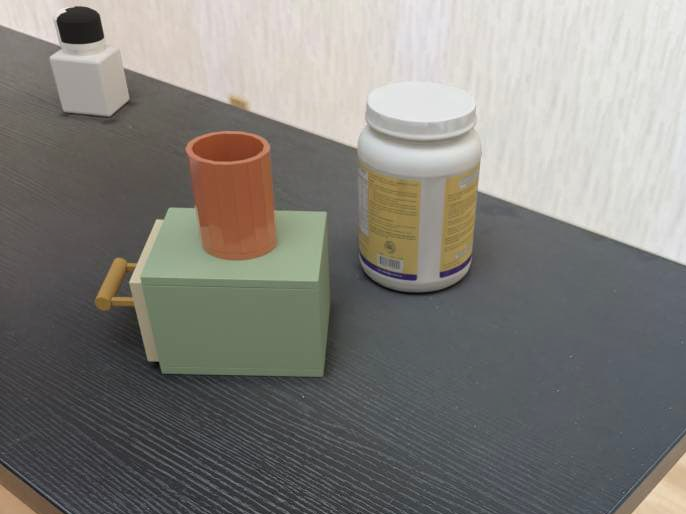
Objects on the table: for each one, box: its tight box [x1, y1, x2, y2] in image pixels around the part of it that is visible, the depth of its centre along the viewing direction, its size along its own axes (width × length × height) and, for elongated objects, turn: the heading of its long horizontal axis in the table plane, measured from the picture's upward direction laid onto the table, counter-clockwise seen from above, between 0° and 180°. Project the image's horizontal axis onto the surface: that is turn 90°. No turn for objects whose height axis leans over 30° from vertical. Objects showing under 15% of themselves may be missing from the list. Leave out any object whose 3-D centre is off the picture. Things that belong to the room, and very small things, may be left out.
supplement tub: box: [356, 81, 483, 293], centre depth 81 cm, size 12×12×17 cm
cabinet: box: [140, 207, 331, 378], centre depth 74 cm, size 15×13×10 cm
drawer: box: [94, 219, 164, 363], centre depth 74 cm, size 18×11×8 cm, turn 91°
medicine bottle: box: [49, 5, 130, 118], centre depth 112 cm, size 7×7×12 cm
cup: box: [184, 130, 278, 260], centre depth 67 cm, size 7×7×8 cm
